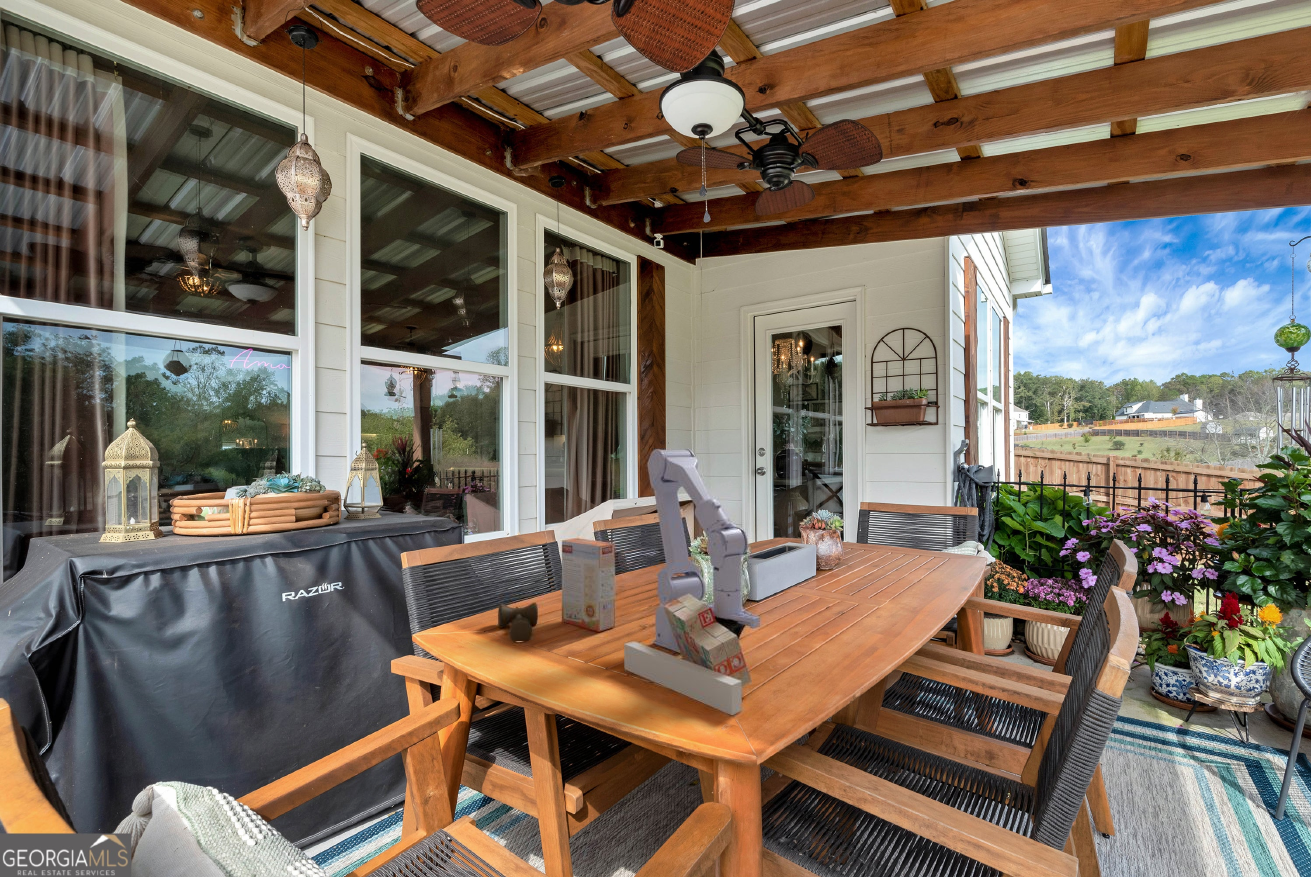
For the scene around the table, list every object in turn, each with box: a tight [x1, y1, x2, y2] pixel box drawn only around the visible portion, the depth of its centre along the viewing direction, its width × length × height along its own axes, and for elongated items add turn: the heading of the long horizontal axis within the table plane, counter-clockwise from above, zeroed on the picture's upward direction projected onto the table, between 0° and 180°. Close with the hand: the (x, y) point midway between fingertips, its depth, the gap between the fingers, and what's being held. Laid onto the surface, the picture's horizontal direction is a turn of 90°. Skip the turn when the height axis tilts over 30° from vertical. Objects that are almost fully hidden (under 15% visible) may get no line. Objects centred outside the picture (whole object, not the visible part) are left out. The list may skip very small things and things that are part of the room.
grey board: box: [623, 640, 743, 716], centre depth 110 cm, size 28×2×5 cm, turn 43°
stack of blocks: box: [663, 594, 752, 688], centre depth 116 cm, size 21×6×12 cm, turn 18°
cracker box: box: [561, 537, 616, 633], centre depth 149 cm, size 14×6×21 cm, turn 48°
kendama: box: [497, 602, 539, 642], centre depth 145 cm, size 6×10×20 cm
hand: (728, 656), depth 119 cm, fingers closed
